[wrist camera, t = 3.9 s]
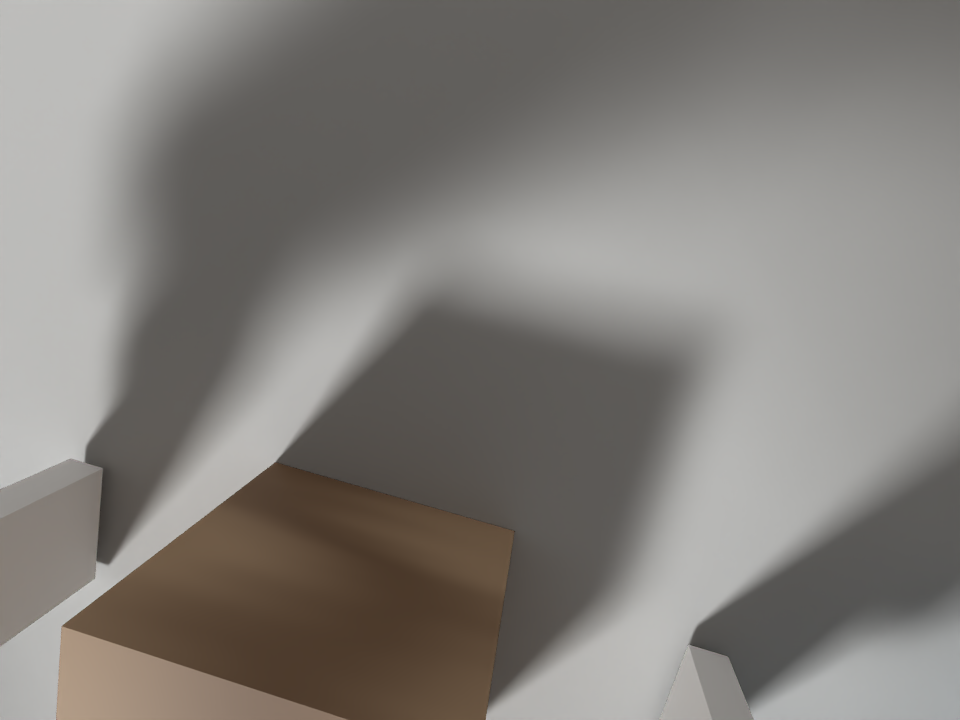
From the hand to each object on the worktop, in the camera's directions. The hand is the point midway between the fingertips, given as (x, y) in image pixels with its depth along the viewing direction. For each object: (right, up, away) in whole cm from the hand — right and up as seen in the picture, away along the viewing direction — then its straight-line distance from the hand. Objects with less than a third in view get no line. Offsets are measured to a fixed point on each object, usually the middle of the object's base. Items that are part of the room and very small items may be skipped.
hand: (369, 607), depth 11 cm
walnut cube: (0, 0, 0) cm, 0 cm away
